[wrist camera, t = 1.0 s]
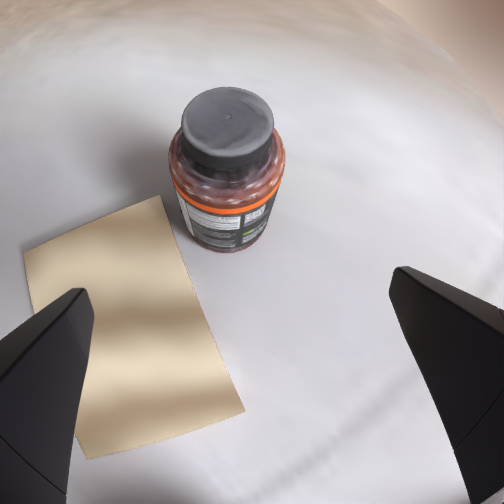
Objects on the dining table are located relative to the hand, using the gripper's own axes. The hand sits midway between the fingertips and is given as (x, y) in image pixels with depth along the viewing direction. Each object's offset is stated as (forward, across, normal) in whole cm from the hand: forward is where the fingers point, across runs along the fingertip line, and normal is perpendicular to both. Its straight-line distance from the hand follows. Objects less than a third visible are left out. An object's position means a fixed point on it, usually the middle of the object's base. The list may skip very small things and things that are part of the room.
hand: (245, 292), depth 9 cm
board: (+9, +8, +10) cm, 16 cm away
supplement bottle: (+15, 0, +4) cm, 16 cm away
